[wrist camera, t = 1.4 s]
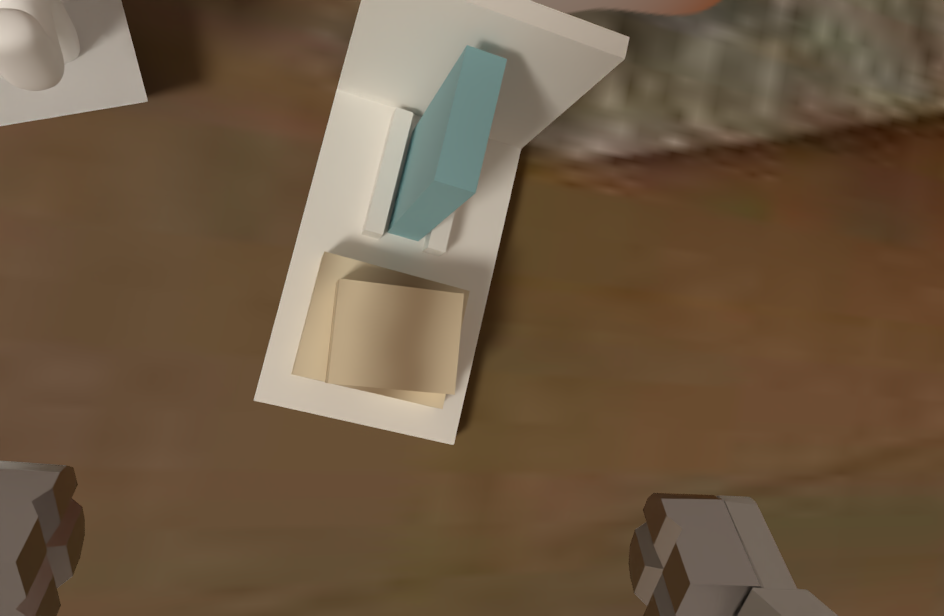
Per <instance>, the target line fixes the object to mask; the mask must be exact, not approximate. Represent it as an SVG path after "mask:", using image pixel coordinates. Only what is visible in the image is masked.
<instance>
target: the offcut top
mask: <svg viewBox="0 0 944 616" xmlns="http://www.w3.org/2000/svg"><path fill="white" fill-rule="evenodd" d="M463 299H464V294H461V293H453V292H445V291H437V290H429V289H421V288H413V287H405V286H397V285H389V284H381V283H373V282H365V281H357V280H349V279H341V278H339V280H338V281H337V282H336V288H335V297H334V306H333V315H332V324H331V333H330V343H329V352H328V361H327V370H326V379H325V383H329V384H341V385H352V386H363V387H374V388H385V389H396V390H407V391H418V392H429V393H440V394H452V395H455V387H456V376H457V365H458V354H459V343H460V332H461V321H462V310H463Z"/></svg>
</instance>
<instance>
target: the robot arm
mask: <svg viewBox="0 0 944 616" xmlns="http://www.w3.org/2000/svg"><path fill="white" fill-rule="evenodd" d="M77 485H78V484H77V480H76V476H75V472H74V468H73V467H70V466H65V465H51V464H37V463H23V462H9V461H0V616H56V615H57V613H58V611H59V608H60V606H61V604H60V600H59V596H58V592H57V588H58V587H59V586H60V585H62V584H63V583H64V582H66V581H67V580H68V579H69V578H71V577H72V576H73V574H74V571H75V569H76V566H77V564H78V561H79V559H80V555H81V550H82V545H83V540H84V536H85V519H84V513H83V508H82V506H81V505H79V504H78V503H77V502H76V501H74V500H73V499H72V496H73V494H74V492H75V489H76V487H77ZM643 512H644V515H645V519H646V523H644V524H643V525H641V526H640V527H639V528H637V529H636V530H635V532H634V535H633V537H632V540H631V543H630V550H629V571H630V579H631V582H632V586H633V590H634V593H635V594H636V595H637V596H638V597H639V598H640V599H641V600H642V601H643V602H644V603H645V604H646V605H647V608H646V611H645V613H644V615H643V616H838V615H836V614H835V613H834V612H833V611H832V610H830V609H829V608H828V607H827V606H826V605H825V604H823V603H822V602H821V601H820V600H819V599H817V598H816V597H815V596H814V595H813V594H811V593H810V592H809V591H808V590H804V589H797V587H796V585H795V583H794V581H793V579H792V577H791V575H790V573H789V570H788V568H787V566H786V564H785V562H784V560H783V558H782V556H781V554H780V552H779V550H778V547H777V545H776V543H775V541H774V539H773V537H772V535H771V533H770V531H769V529H768V527H767V524H766V522H765V520H764V518H763V516H762V514H761V512H760V510H759V508H758V506H757V504H756V502H755V501H754V500H753V499H752V498H751V497H738V496H714V495H696V494H668V493H653V494H652V495H651V496H650V497H649V498H648V499H647V501H646V504H645V506H644V508H643Z"/></svg>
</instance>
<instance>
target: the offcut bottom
mask: <svg viewBox="0 0 944 616" xmlns="http://www.w3.org/2000/svg"><path fill="white" fill-rule="evenodd" d="M339 278H341V279H349V280H357V281H365V282H373V283H381V284H389V285H397V286H405V287H413V288H421V289H429V290H437V291H445V292H453V293H461V294H464V299H463V310H462V321H461V327H462V323H463V319H464V314H465V310H466V306H467V301H468V297H469V293H470V291H468V290H464V289H461V288H457V287H453V286H450V285H446V284H442V283H439V282H435V281H431V280H428V279H424V278H420V277H417V276H413V275H409V274H406V273H402V272H398V271H395V270H391V269H387V268H384V267H380V266H376V265H373V264H369V263H365V262H362V261H358V260H354V259H351V258H347V257H343V256H340V255H336V254H332V253H329V252H325V251H324V253H323V255H322V258H321V261H320V265H319V269H318V273H317V277H316V281H315V284H314V288H313V292H312V296H311V300H310V304H309V307H308V311H307V315H306V319H305V323H304V326H303V330H302V334H301V338H300V342H299V346H298V349H297V353H296V357H295V361H294V365H293V368H292V372H291V374H292V375H297V376H301V377H305V378H310V379H314V380H318V381H322V382H325V379H326V370H327V361H328V352H329V343H330V333H331V324H332V315H333V306H334V297H335V288H336V282H337V281H338V280H339ZM335 385H340V386H344V387H348V388H352V389H357V390H361V391H365V392H369V393H374V394H378V395H382V396H387V397H391V398H395V399H399V400H404V401H408V402H412V403H417V404H421V405H425V406H429V407H434V408H439V409H443V405H444V401H445V396H446V394H440V393H429V392H418V391H407V390H396V389H385V388H374V387H363V386H352V385H341V384H335Z"/></svg>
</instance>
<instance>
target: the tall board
mask: <svg viewBox="0 0 944 616" xmlns="http://www.w3.org/2000/svg"><path fill="white" fill-rule="evenodd" d="M506 61H507V59H506V58H503V57H500V56H497V55H494V54H491V53H488V52H486V51H483V50H480V49H477V48H474V47H471V46H468V45H467V46H466V47H465V49H464V50H463V52H462V54H461V55H460V57H459V58H458V60H457V62H456V63H455V65H454V66H453V68H452V70H451V71H450V73H449V74H448V76H447V77H446V79H445V81H444V82H443V84H442V85H441V87H440V89H439V90H438V92H437V93H436V95H435V97H434V98H433V100H432V101H431V103H430V104H429V106H428V108H427V109H426V111H425V112H424V114H423V116H422V117H421V119H420V120H419V122H418V123H417V125H416V127H415V128H414V130H413V131H412V135H411V139H410V143H409V147H408V151H407V155H406V159H405V163H404V167H403V171H402V175H401V179H400V183H399V187H398V191H397V195H396V199H395V203H394V207H393V211H392V215H391V219H390V223H389V227H388V231H387V233H390V234H394V235H397V236H401V237H404V238H408V239H411V240H415V241H419V240H421V239H422V238H423V237H424V236H425V235H426V234H428V233H429V232H430V231H431V230H432V229H434V228H435V227H436V226H437V225H438V224H440V223H441V222H442V221H443V220H444V219H445V218H447V217H448V216H449V215H450V214H451V213H453V212H454V211H455V210H456V209H457V208H458V207H460V206H461V205H462V204H463V203H464V202H466V201H467V200H468V199H469V198H470V197H472V196H473V195H474V194H475V193H476V189H477V185H478V181H479V176H480V172H481V168H482V164H483V159H484V155H485V151H486V147H487V142H488V138H489V134H490V130H491V125H492V121H493V117H494V113H495V108H496V104H497V100H498V96H499V91H500V87H501V83H502V79H503V74H504V70H505V66H506Z"/></svg>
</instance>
